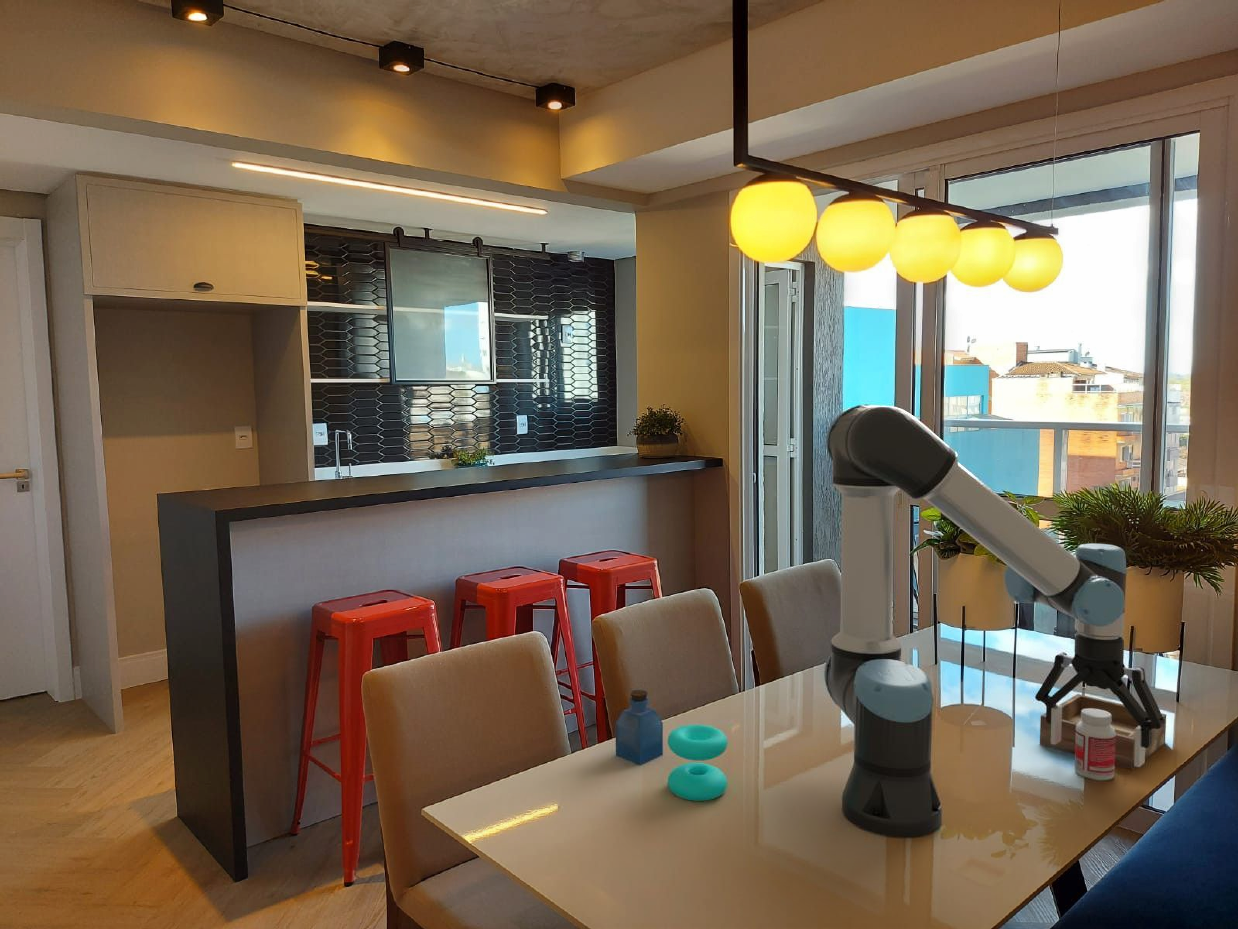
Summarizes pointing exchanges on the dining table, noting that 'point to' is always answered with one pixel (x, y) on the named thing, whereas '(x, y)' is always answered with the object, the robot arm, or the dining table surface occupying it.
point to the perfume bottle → (639, 731)
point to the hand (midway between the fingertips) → (1096, 753)
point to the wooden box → (1120, 723)
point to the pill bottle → (1095, 745)
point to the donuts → (697, 777)
